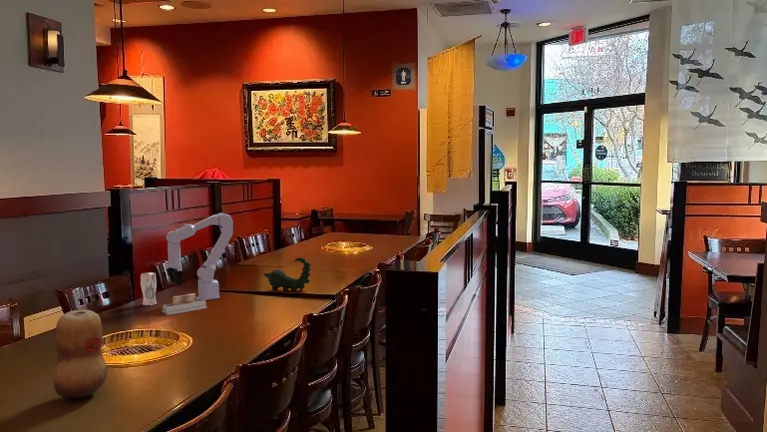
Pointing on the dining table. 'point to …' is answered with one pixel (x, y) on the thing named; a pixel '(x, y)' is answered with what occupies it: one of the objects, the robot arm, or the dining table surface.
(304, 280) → the toy figurine
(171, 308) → the door track
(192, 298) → the door panel
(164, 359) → the dining table surface
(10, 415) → the dining table surface
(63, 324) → the butternut squash
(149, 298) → the beer glass
